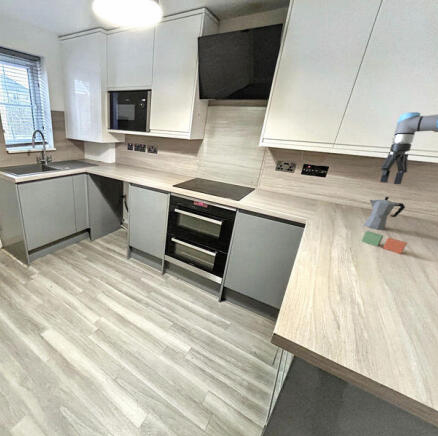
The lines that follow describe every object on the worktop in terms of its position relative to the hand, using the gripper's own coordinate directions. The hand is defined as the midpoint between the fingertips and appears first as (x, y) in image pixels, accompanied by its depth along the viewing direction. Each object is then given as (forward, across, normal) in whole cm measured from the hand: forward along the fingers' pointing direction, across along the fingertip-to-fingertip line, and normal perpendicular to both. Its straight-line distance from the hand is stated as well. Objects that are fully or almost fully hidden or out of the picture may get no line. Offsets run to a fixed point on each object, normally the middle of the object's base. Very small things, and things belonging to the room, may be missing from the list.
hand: (390, 183), depth 131 cm
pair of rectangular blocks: (+30, +31, +16) cm, 46 cm away
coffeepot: (+26, +1, 0) cm, 26 cm away
